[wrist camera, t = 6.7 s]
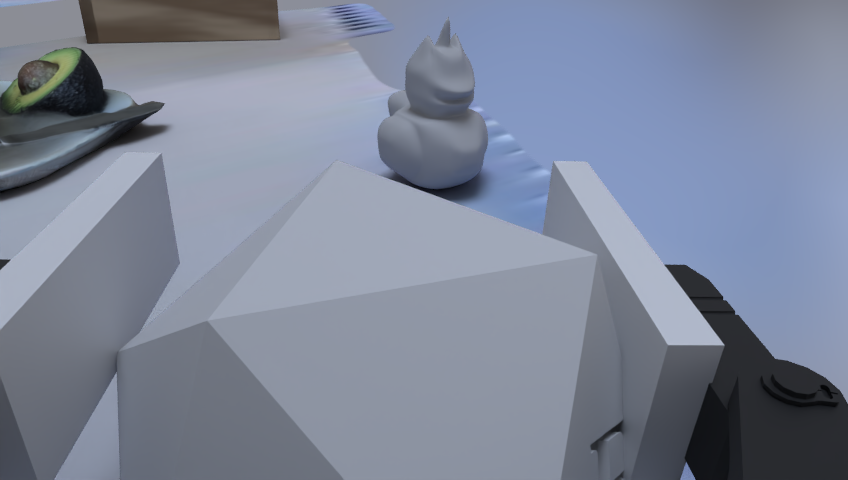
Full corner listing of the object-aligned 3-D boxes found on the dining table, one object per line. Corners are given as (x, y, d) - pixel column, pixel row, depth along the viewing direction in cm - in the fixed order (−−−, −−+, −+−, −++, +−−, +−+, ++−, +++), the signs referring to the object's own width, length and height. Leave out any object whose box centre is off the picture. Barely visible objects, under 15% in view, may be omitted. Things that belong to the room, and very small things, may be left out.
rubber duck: (418, 214, 28) (425, 29, 24) (351, 166, 33) (348, 5, 29) (511, 192, 31) (531, 21, 27) (437, 149, 36) (444, 0, 32)
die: (121, 1005, 8) (814, 854, 4) (-49, 411, 11) (214, -50, 7) (461, 652, 15) (846, 453, 11) (296, 344, 18) (538, 93, 14)
